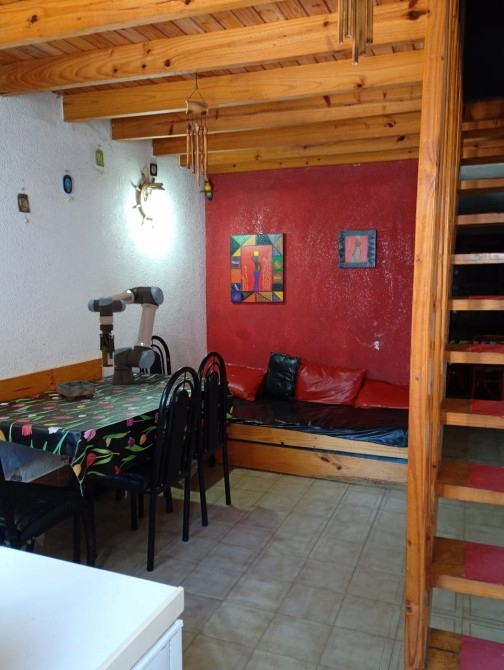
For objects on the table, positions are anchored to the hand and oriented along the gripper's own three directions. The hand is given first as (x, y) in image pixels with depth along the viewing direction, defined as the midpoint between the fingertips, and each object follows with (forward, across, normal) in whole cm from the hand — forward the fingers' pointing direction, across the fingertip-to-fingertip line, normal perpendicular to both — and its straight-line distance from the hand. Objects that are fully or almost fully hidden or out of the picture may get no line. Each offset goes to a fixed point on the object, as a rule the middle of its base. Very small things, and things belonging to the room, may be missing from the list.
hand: (107, 363), depth 306 cm
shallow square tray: (+18, -3, -18) cm, 26 cm away
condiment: (+2, +1, 0) cm, 2 cm away
